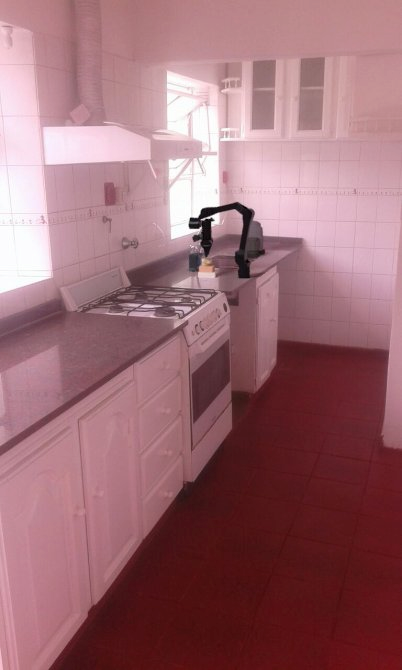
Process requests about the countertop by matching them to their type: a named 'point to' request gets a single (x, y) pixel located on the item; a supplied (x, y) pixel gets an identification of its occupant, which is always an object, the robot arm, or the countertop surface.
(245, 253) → the robot arm
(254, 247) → the juicer
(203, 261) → the maple puck
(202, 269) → the tower top
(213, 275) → the tower base
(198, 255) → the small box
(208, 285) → the countertop surface
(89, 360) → the countertop surface
